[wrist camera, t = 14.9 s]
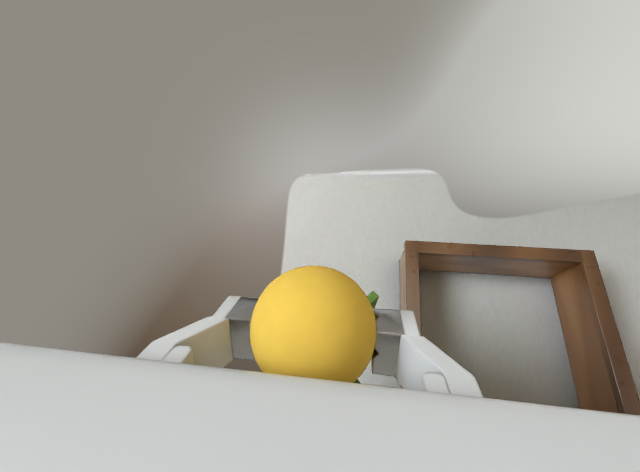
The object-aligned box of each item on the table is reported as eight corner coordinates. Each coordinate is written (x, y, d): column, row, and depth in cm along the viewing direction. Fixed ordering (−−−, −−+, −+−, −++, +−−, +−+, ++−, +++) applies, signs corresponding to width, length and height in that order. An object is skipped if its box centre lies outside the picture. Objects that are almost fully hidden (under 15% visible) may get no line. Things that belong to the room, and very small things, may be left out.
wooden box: (558, 269, 29) (593, 250, 25) (618, 512, 21) (683, 544, 17) (397, 259, 30) (405, 240, 26) (399, 480, 23) (410, 502, 19)
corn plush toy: (374, 302, 17) (396, 239, 10) (372, 406, 15) (398, 433, 7) (285, 295, 18) (238, 230, 10) (270, 394, 16) (196, 406, 8)
